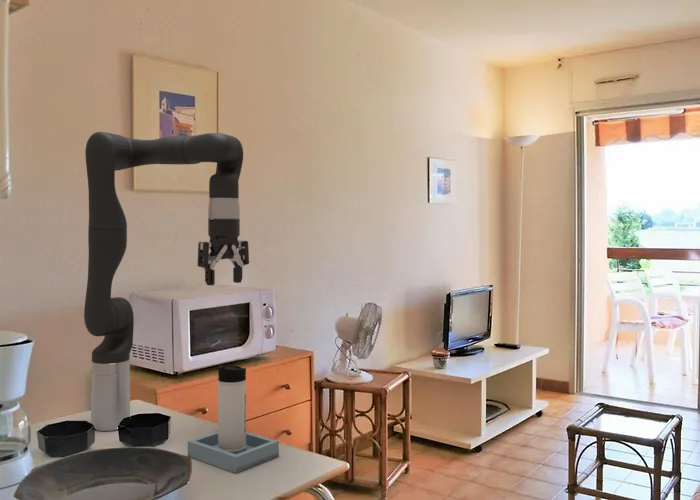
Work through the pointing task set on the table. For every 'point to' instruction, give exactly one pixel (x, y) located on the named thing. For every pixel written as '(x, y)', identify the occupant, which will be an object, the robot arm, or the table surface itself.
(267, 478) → the table surface
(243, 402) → the travel mug
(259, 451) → the slate tray
